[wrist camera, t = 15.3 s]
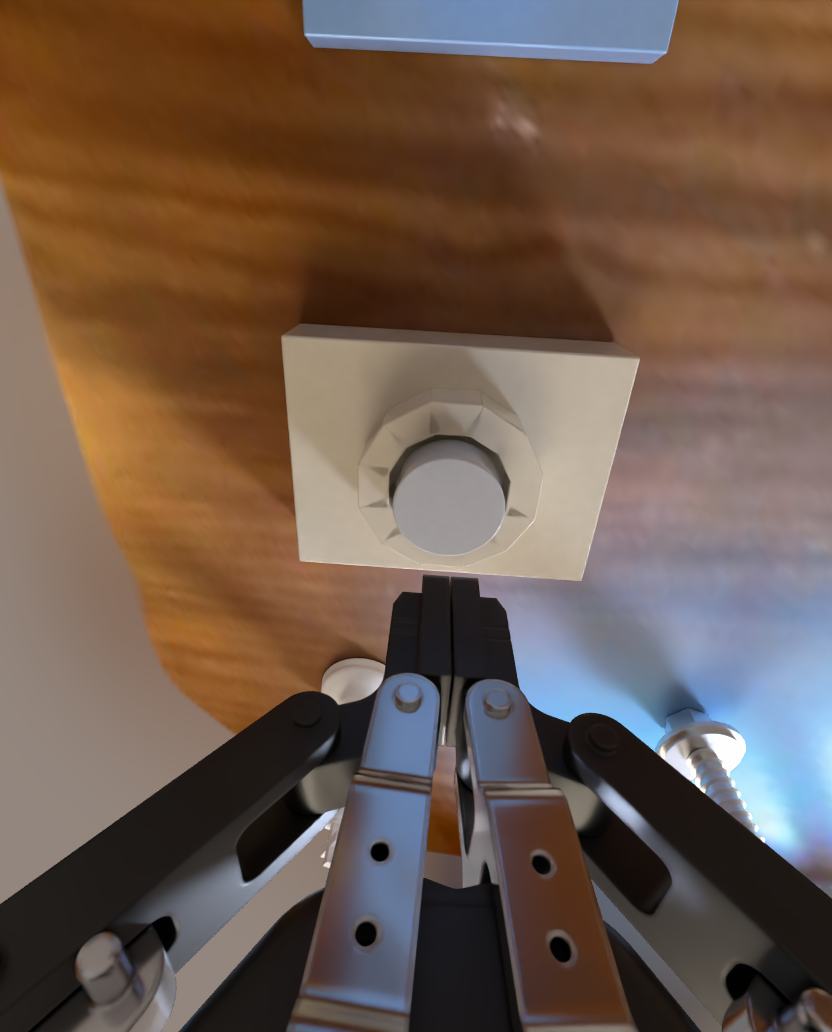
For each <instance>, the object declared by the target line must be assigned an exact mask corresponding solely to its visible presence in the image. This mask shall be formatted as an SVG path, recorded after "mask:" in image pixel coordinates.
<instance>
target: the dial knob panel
mask: <svg viewBox="0 0 832 1032" xmlns="http://www.w3.org/2000/svg"><path fill="white" fill-rule="evenodd" d="M281 343H282V356H283V368H284V380H285V393H286V405H287V417H288V430H289V442H290V455H291V467H292V479H293V492H294V504H295V517H296V529H297V541H298V554H299V561H305V562H319V563H333V564H348V565H362V566H376V567H390V568H404V569H418V570H433V571H447V572H461V573H475V574H489V575H503V576H518V577H532V578H546V579H560V580H574V581H581V580H582V577H583V574H584V570H585V566H586V562H587V558H588V555H589V551H590V547H591V543H592V539H593V536H594V532H595V528H596V524H597V520H598V517H599V513H600V509H601V505H602V501H603V498H604V494H605V490H606V486H607V482H608V479H609V475H610V471H611V467H612V463H613V460H614V456H615V452H616V448H617V444H618V441H619V437H620V433H621V429H622V426H623V422H624V418H625V414H626V410H627V407H628V403H629V399H630V395H631V391H632V388H633V384H634V380H635V376H636V372H637V369H638V365H639V361H640V357H638V356H637V355H635V354H634V353H632V352H631V351H629V350H628V349H626V348H625V347H624V346H622V345H621V344H619V343H615V342H599V341H582V340H566V339H549V338H533V337H516V336H500V335H483V334H467V333H450V332H434V331H417V330H401V329H384V328H368V327H351V326H335V325H318V324H302V323H301V324H298V325H297V326H295V327H294V328H292V329H291V330H289V331H288V332H286V333H285V334H283V335H282V336H281ZM438 440H460V441H464V442H467V443H470V444H472V445H475V446H476V447H478V448H480V449H481V450H483V451H484V452H485V453H486V454H487V455H488V456H489V457H490V458H491V459H492V461H493V462H494V464H495V465H496V467H497V469H498V472H499V475H500V479H501V484H502V489H503V493H504V498H505V514H504V519H503V521H502V524H501V526H500V528H499V530H498V531H497V533H496V534H495V535H494V537H493V538H492V539H491V540H490V541H489V542H487V543H486V544H485V545H483V546H482V547H480V548H478V549H476V550H474V551H472V552H469V553H466V554H462V555H456V556H442V555H435V554H431V553H428V552H425V551H423V550H421V549H419V548H417V547H416V546H414V545H413V544H412V543H410V542H409V541H408V540H407V539H406V538H405V537H404V536H403V535H402V533H401V532H400V530H399V529H398V527H397V525H396V522H395V519H394V515H393V506H392V505H393V497H394V492H395V487H396V482H397V477H398V473H399V471H400V468H401V466H402V465H403V463H404V461H405V460H406V459H407V458H408V457H409V456H410V455H411V454H412V453H413V452H414V451H415V450H417V449H418V448H420V447H422V446H423V445H425V444H428V443H431V442H434V441H438Z"/></svg>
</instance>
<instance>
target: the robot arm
mask: <svg viewBox="0 0 832 1032" xmlns="http://www.w3.org/2000/svg"><path fill="white" fill-rule="evenodd" d="M508 627H509V626H508V620H507V614H506V611H505V609H504V608H503V607H502V605H501V604H500V603H499V601H498V600H497V599H496V598H485V597H480V592H479V583H478V578H465V577H451V580H450V581H449V576H436V575H423V582H422V593H413V592H402V593H401V595H400V596H399V597H398V598H397V600H396V601H395V602H394V603H393V610H392V618H391V626H390V633H389V641H388V649H387V656H386V664H385V672H384V677H383V680H382V683H381V684H380V686H379V687H378V688H377V689H376V690H375V691H374V692H373V693H372V694H371V695H369V696H367V697H366V698H363V699H361V700H358V701H354V702H349V703H345V704H340V705H338V704H337V702H336V701H335V700H334V699H333V698H332V697H330V696H329V695H327V694H324V693H321V692H315V691H307V692H301V693H298V694H295V695H293V696H291V697H289V698H288V699H286V700H285V701H283V702H282V703H280V704H279V705H278V706H276V707H275V708H273V709H272V710H271V711H269V712H268V713H266V714H265V715H264V716H262V717H261V718H260V719H258V720H257V721H255V722H254V723H253V724H251V725H250V726H248V727H247V728H246V729H244V730H243V731H241V732H240V733H239V734H237V735H236V736H234V737H233V738H232V739H230V740H229V741H227V742H226V743H225V744H223V745H222V746H220V747H219V748H218V749H216V750H215V751H213V752H212V753H211V754H210V755H208V756H207V757H205V758H204V759H202V760H201V761H199V762H198V763H197V764H195V765H194V766H193V767H191V768H190V769H188V770H187V771H186V772H184V773H183V774H181V775H180V776H179V777H177V778H176V779H174V780H173V781H172V782H170V783H169V784H168V785H166V786H165V787H163V788H162V789H161V790H159V791H158V792H156V793H155V794H153V795H152V796H151V797H149V798H148V799H146V800H145V801H144V802H142V803H141V804H140V805H138V806H137V807H135V808H134V809H132V810H131V811H130V812H128V813H127V814H126V815H124V816H123V817H121V818H120V819H119V820H117V821H116V822H114V823H113V824H112V825H110V826H109V827H107V828H106V829H105V830H103V831H102V832H100V833H99V834H98V835H96V836H95V837H93V838H92V839H91V840H89V841H88V842H86V843H85V844H84V845H82V846H81V847H79V848H78V849H77V850H75V851H74V852H72V853H71V854H70V855H68V856H67V857H65V858H64V859H63V860H61V861H60V862H58V863H57V864H56V865H54V866H53V867H52V868H50V869H49V870H47V871H46V872H45V873H43V874H42V875H40V876H39V877H38V878H36V879H35V880H33V881H32V882H31V883H29V884H28V885H26V886H25V887H24V888H22V889H21V890H20V891H18V892H17V893H15V894H14V895H12V896H11V897H10V898H8V899H7V900H5V901H4V902H3V903H1V904H0V1032H162V1031H163V1029H164V1027H165V1026H166V1023H167V1021H168V1019H169V1017H170V1015H171V1012H172V1009H173V1006H174V1002H175V997H176V977H175V974H176V973H177V972H178V971H179V970H180V969H181V968H182V967H183V966H184V965H185V964H186V963H187V962H188V961H189V960H190V959H191V958H192V957H193V956H194V955H195V954H196V953H197V952H198V951H199V950H200V949H201V948H202V947H203V946H204V945H205V944H206V943H207V942H208V941H209V940H210V939H211V938H212V937H213V936H214V935H215V934H216V933H217V932H218V931H219V930H220V929H221V928H222V927H223V926H225V924H227V923H228V922H229V921H230V920H231V919H232V917H234V916H235V915H236V914H237V913H238V912H239V911H240V910H241V909H242V908H243V907H244V906H245V905H246V904H247V903H248V902H249V901H250V900H251V899H252V898H253V897H254V896H255V895H256V894H257V893H258V892H259V891H260V890H261V889H262V888H263V887H264V886H265V885H266V884H267V883H268V882H269V881H270V880H271V879H272V878H273V877H274V876H275V875H276V874H277V873H278V872H279V871H280V870H281V869H282V868H283V867H284V866H285V865H286V864H287V863H288V862H289V861H290V860H291V859H293V858H294V857H295V856H296V854H297V853H299V852H300V850H302V849H303V848H304V847H305V845H306V844H308V843H309V842H310V841H311V840H312V839H313V838H314V837H315V836H316V835H317V834H318V833H319V832H320V831H321V830H322V829H323V828H324V827H325V826H326V825H327V824H328V823H329V822H330V821H331V820H332V819H333V818H334V817H335V816H336V815H337V813H338V812H339V810H340V808H343V807H345V808H344V812H343V816H342V820H341V824H340V828H339V832H338V836H337V840H336V844H335V849H334V853H333V857H332V861H331V865H330V869H329V873H328V877H327V881H326V885H325V888H322V889H320V890H318V891H316V892H314V893H312V894H310V895H308V896H307V897H305V898H304V899H302V900H301V901H299V902H298V903H297V904H295V905H294V906H293V907H292V908H291V909H289V910H288V911H287V912H286V913H285V914H284V915H282V916H281V918H280V919H279V920H278V921H277V922H276V923H275V924H274V925H273V926H272V927H271V928H270V930H269V931H268V932H267V933H266V934H265V935H264V936H263V937H262V938H261V940H260V941H259V942H258V943H257V944H256V945H255V946H254V947H253V949H252V950H251V951H250V952H249V953H248V954H247V955H246V957H245V958H244V959H243V960H242V961H241V962H240V963H239V964H238V966H237V967H236V968H235V969H234V970H233V971H232V972H231V973H230V975H229V976H228V977H227V978H226V979H225V980H224V981H223V982H222V984H221V985H220V986H219V987H218V988H217V989H216V990H215V991H214V993H213V994H212V995H211V996H210V997H209V998H208V999H207V1000H206V1002H205V1003H204V1004H203V1005H202V1006H201V1007H200V1008H199V1009H198V1011H197V1012H196V1013H195V1014H194V1015H193V1016H192V1017H191V1018H190V1020H189V1021H188V1022H187V1023H186V1024H185V1025H184V1026H183V1027H182V1029H181V1030H180V1031H179V1032H701V1031H700V1029H699V1028H698V1027H697V1026H696V1025H695V1023H694V1022H693V1021H692V1020H691V1019H690V1017H689V1016H688V1015H687V1014H686V1012H685V1011H684V1010H683V1009H682V1007H681V1006H680V1005H679V1004H678V1003H677V1001H676V1000H675V999H674V998H673V996H672V995H671V994H670V993H669V992H668V991H667V989H666V988H665V987H664V985H663V984H662V983H661V982H660V981H659V979H658V978H657V977H656V976H655V974H654V973H653V972H652V971H651V969H650V968H649V967H648V966H647V965H646V963H645V962H644V961H643V960H642V959H641V957H640V956H639V955H638V954H637V952H636V951H635V950H634V949H633V948H632V947H631V945H630V944H629V943H628V942H627V941H626V940H625V939H624V938H623V937H622V936H621V935H620V934H619V933H618V932H617V931H616V930H615V929H613V928H612V927H611V926H610V925H609V924H608V923H606V922H605V921H604V920H603V919H602V915H601V912H600V908H599V905H598V902H597V898H596V895H595V892H594V888H593V885H592V881H591V879H592V880H593V881H594V882H595V883H596V885H597V886H598V887H599V888H600V889H601V890H602V891H603V892H604V894H605V895H606V896H607V897H608V898H609V899H610V900H611V902H612V903H613V904H614V905H615V906H616V907H617V908H618V909H619V911H620V912H621V913H622V914H623V915H624V916H625V917H626V918H627V919H628V921H629V922H630V923H631V924H632V925H633V926H634V927H635V929H636V930H637V931H638V932H639V933H640V934H641V935H642V936H643V938H644V939H645V940H646V941H647V942H648V943H649V944H650V946H651V947H652V948H653V949H654V950H655V951H656V952H657V953H658V955H659V956H660V957H661V958H662V959H663V960H664V961H665V962H666V964H667V965H668V966H669V967H670V968H671V969H672V970H673V971H674V973H675V974H676V975H677V976H678V977H679V978H680V979H681V981H682V982H683V983H684V984H685V985H686V986H687V987H688V988H689V989H690V991H691V992H692V993H693V994H694V995H695V996H696V997H697V999H698V1000H699V1001H700V1002H701V1003H702V1004H703V1005H704V1006H705V1008H706V1009H707V1010H708V1011H709V1012H710V1013H711V1014H712V1016H713V1017H714V1018H715V1019H716V1020H717V1021H718V1022H719V1023H720V1025H721V1026H722V1032H832V898H830V897H829V896H828V895H827V894H826V893H824V892H823V891H822V890H821V889H820V888H818V887H817V886H816V885H815V884H814V883H812V882H811V881H810V880H809V879H808V878H806V877H805V876H804V875H803V874H802V873H800V872H799V871H798V870H797V869H795V868H794V867H793V866H792V865H791V864H789V863H788V862H787V861H786V860H785V859H783V858H782V857H781V856H780V855H779V854H777V853H776V852H775V851H774V850H773V849H771V848H770V847H769V846H768V845H767V844H765V843H764V842H763V841H762V840H761V839H759V838H758V837H757V836H756V835H754V834H753V833H752V832H751V831H750V830H748V829H747V828H746V827H745V826H744V825H742V824H741V823H740V822H739V821H738V820H736V819H735V818H734V817H733V816H732V815H730V814H729V813H728V812H727V811H726V810H724V809H723V808H722V807H721V806H720V805H718V804H717V803H716V802H715V801H713V800H712V799H711V798H710V797H709V796H707V795H706V794H705V793H704V792H703V791H701V790H700V789H699V788H698V787H697V786H695V785H694V784H693V783H692V782H691V781H689V780H688V779H687V778H686V777H685V776H683V775H682V774H681V773H680V772H679V771H677V770H676V769H675V768H674V767H672V766H671V765H670V764H669V763H668V762H666V761H665V760H664V759H663V758H662V757H660V756H659V755H658V754H657V753H656V752H654V751H653V750H652V749H651V748H650V747H648V746H647V745H646V744H645V743H644V742H642V741H641V740H640V739H639V738H637V737H636V736H635V735H634V734H633V733H631V732H630V731H629V730H628V729H627V728H625V727H624V726H623V725H622V724H620V723H619V722H618V721H616V720H614V719H612V718H610V717H608V716H605V715H602V714H597V713H584V714H581V715H578V716H577V717H575V718H574V719H573V720H572V721H571V722H570V723H569V722H566V721H563V720H561V719H558V718H555V717H552V716H549V715H547V714H545V713H543V712H541V711H539V710H538V709H536V708H535V707H533V706H532V705H531V704H530V703H529V702H528V700H527V698H526V697H525V695H524V694H523V693H522V691H520V688H519V684H518V679H517V673H516V667H515V661H514V655H513V649H512V643H511V641H510V639H511V637H510V631H509V629H508ZM445 726H446V746H448V747H456V767H455V774H454V785H455V795H456V805H457V815H458V825H459V835H460V844H461V854H462V867H463V881H462V888H461V889H453V888H450V887H447V886H444V885H442V884H439V883H437V882H434V881H431V880H429V879H426V878H424V877H423V875H424V865H425V854H426V844H427V834H428V823H429V813H430V802H431V792H432V778H433V773H434V770H435V766H436V757H437V749H438V746H443V741H444V733H445Z"/></svg>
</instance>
